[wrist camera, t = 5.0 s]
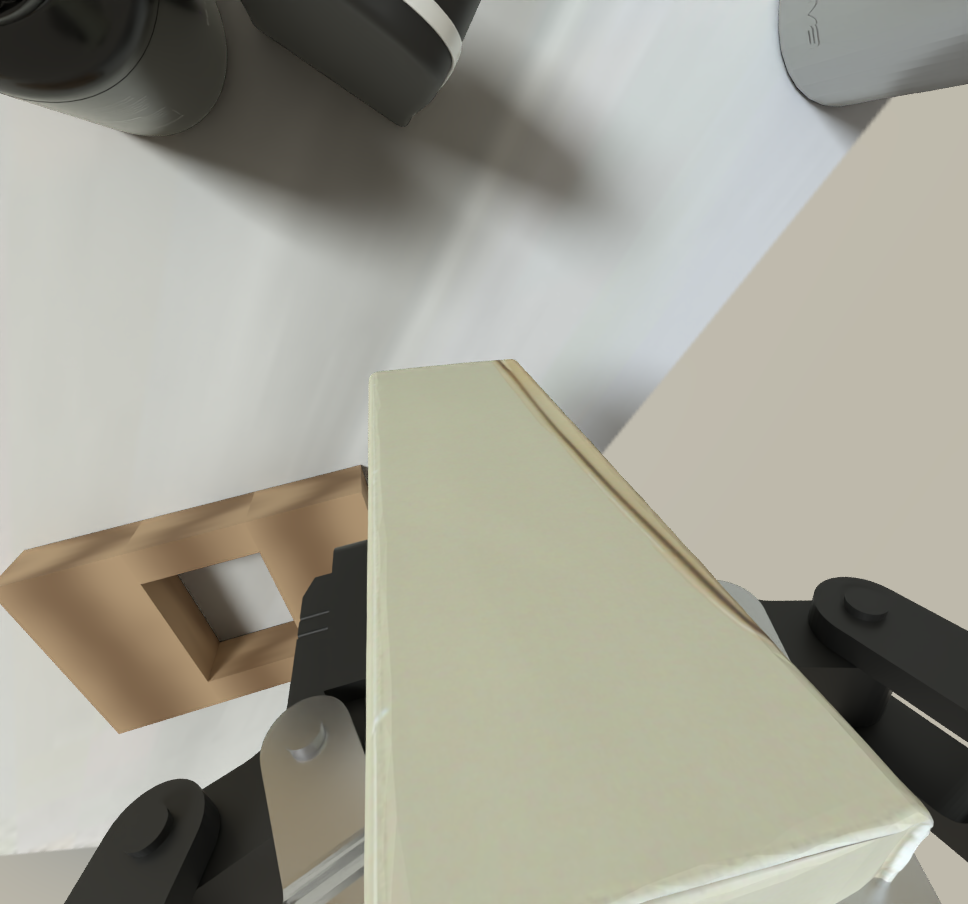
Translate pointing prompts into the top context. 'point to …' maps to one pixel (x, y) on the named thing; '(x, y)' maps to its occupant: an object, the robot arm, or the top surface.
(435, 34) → the battery charger
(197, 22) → the supplement bottle
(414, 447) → the skincare box
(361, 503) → the board
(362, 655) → the robot arm
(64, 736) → the top surface
